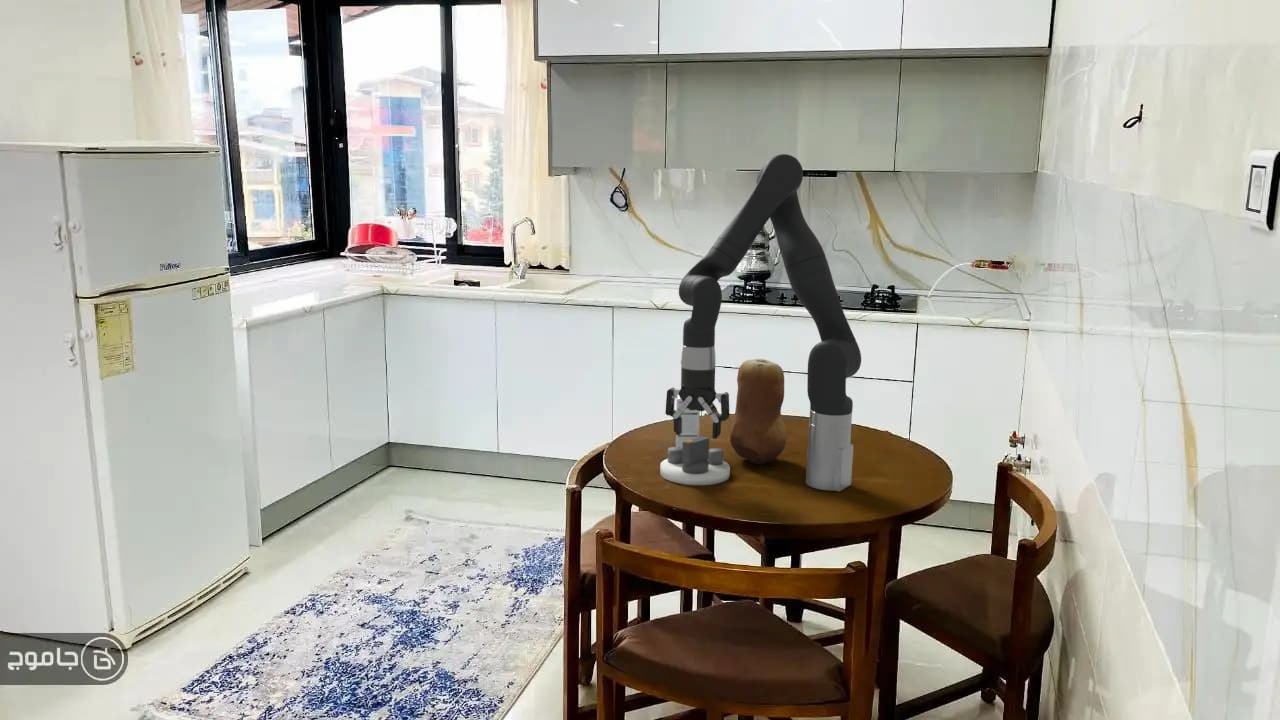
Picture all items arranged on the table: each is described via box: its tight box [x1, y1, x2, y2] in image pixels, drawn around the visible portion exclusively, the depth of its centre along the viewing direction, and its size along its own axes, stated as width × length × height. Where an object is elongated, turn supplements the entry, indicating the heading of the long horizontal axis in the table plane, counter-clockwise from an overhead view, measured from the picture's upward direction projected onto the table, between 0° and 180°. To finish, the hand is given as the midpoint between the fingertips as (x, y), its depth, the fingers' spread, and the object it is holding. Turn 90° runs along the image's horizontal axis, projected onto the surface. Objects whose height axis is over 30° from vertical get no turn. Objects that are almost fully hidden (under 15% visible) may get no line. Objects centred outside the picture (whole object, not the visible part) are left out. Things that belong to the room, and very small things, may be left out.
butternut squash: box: [729, 358, 787, 465], centre depth 227 cm, size 14×13×25 cm
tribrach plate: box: [659, 446, 731, 486], centre depth 219 cm, size 16×16×5 cm
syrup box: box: [675, 395, 701, 448], centre depth 234 cm, size 6×6×14 cm
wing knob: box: [682, 435, 710, 474], centre depth 214 cm, size 7×6×7 cm
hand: (696, 436), depth 213 cm, fingers open, 8 cm apart
